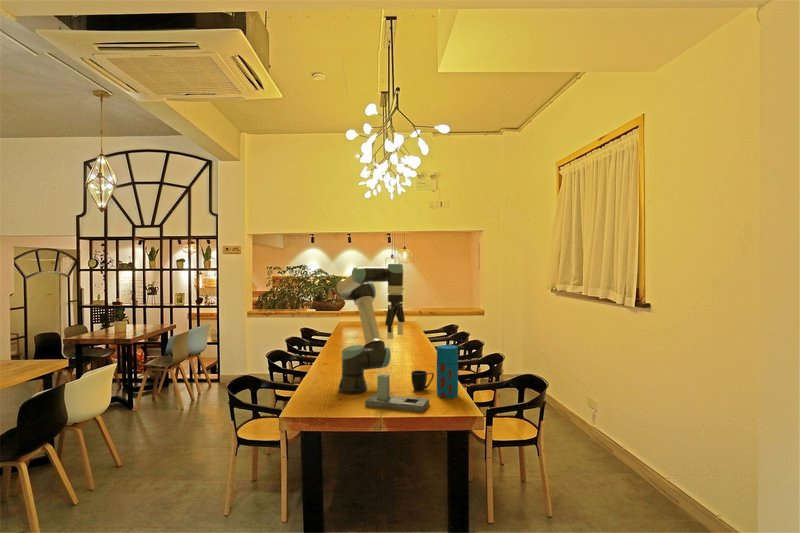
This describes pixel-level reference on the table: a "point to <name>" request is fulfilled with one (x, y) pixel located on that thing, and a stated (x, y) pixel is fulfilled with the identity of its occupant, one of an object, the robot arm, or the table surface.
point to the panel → (398, 403)
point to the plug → (383, 387)
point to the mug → (420, 380)
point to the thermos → (447, 371)
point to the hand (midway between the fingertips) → (395, 337)
